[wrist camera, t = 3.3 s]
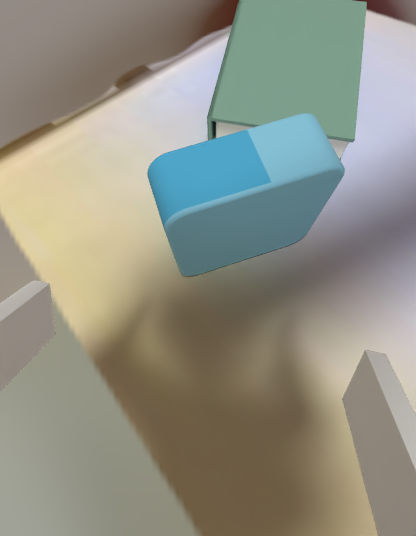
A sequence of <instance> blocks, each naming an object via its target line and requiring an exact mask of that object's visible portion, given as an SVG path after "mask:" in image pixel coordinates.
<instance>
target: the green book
mask: <svg viewBox="0 0 416 536" xmlns="http://www.w3.org/2000/svg"><path fill="white" fill-rule="evenodd" d="M366 5H367V3H366V2H361V1H352V0H239V3H238V7H237V10H236V14H235V18H234V21H233V25H232V28H231V32H230V36H229V39H228V43H227V47H226V50H225V54H224V58H223V61H222V65H221V69H220V72H219V76H218V80H217V83H216V87H215V91H214V94H213V98H212V101H211V105H210V109H209V112H208V116H207V125H208V141H209V140H212V139H215V138H219V137H222V136H226V135H229V134H233V133H236V132H239V131H243V130H246V129H250V128H253V127H257V126H260V125H264V124H267V123H270V122H274V121H277V120H281V119H284V118H288V117H291V116H294V115H298V114H303V113H308V114H312V115H314V116H315V117H316V118H317V120H318V122H319V124H320V125H321V127H322V129H323V131H324V133H325V134H326V136H327V138H328V140H329V141H330V143H331V145H332V147H333V149H334V150H335V152H336V154H337V156H338V157H339V159H340V160H341V155H342V154H343V152H344V150H345V148H346V147H347V145H348V143H349V142H353V141H354V140H355V129H356V118H357V107H358V95H359V84H360V73H361V61H362V50H363V39H364V27H365V16H366Z"/></svg>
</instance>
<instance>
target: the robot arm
mask: <svg viewBox="0 0 416 536" xmlns="http://www.w3.org/2000/svg"><path fill="white" fill-rule="evenodd" d="M55 334H56V332H55V323H54V315H53V307H52V298H51V290H50V284H49V283H44V282H39V281H35V280H33V281H31V282H30V283H28V284H27V285H26V286H24V287H23V288H21V289H20V290H18V291H17V292H15V293H14V294H13V295H11V296H10V297H8V298H7V299H5V300H4V301H3V302H1V303H0V391H1V390H2V389H3V388H4V387H5V386H6V385H7V384H8V383H9V382H10V381H11V380H12V379H13V378H14V377H15V376H16V375H17V374H18V373H19V372H20V371H21V370H22V369H23V368H24V367H25V366H26V365H27V364H28V363H29V362H30V360H31V359H32V358H33V357H34V356H35V355H36V354H37V353H38V352H39V351H40V350H41V349H42V348H43V347H44V346H45V345H46V344H47V343H48V342H49V341H50V340H51V339H52V338H53V337H54V336H55ZM342 400H343V404H344V408H345V412H346V415H347V419H348V423H349V427H350V430H351V434H352V438H353V442H354V446H355V449H356V453H357V457H358V461H359V465H360V468H361V472H362V476H363V480H364V483H365V487H366V491H367V495H368V499H369V502H370V506H371V510H372V514H373V517H374V521H375V525H376V529H377V533H378V536H416V414H415V412H414V410H413V408H412V406H411V404H410V402H409V400H408V398H407V396H406V394H405V392H404V390H403V388H402V386H401V384H400V382H399V380H398V378H397V376H396V374H395V372H394V370H393V368H392V366H391V364H390V362H389V360H388V358H387V356H386V354H383V353H378V352H373V351H369V350H365V351H364V354H363V356H362V358H361V360H360V362H359V364H358V366H357V369H356V371H355V373H354V375H353V377H352V379H351V381H350V383H349V386H348V388H347V390H346V392H345V394H344V396H343V398H342Z"/></svg>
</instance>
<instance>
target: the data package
mask: <svg viewBox="0 0 416 536" xmlns="http://www.w3.org/2000/svg"><path fill="white" fill-rule="evenodd" d="M344 172H345V169H344V166H343V165H342V163H341V161H340V159H339V157H338V156H337V154H336V152H335V150H334V149H333V147H332V145H331V143H330V141H329V140H328V138H327V136H326V134H325V133H324V131H323V129H322V127H321V125H320V124H319V122H318V120H317V118H316V117H315V116H314V115H312V114H308V113H303V114H298V115H294V116H291V117H288V118H284V119H281V120H277V121H274V122H270V123H267V124H264V125H260V126H257V127H253V128H250V129H246V130H243V131H239V132H236V133H233V134H229V135H226V136H222V137H219V138H215V139H212V140H209V141H205V142H202V143H198V144H195V145H191V146H188V147H185V148H181V149H178V150H174V151H171V152H168V153H165V154H163V155H161V156H159V157H158V158H156V159H155V160H154V161H153V162H152V163H151V165H150V166H149V169H148V179H149V182H150V185H151V188H152V192H153V195H154V198H155V201H156V204H157V208H158V211H159V214H160V217H161V220H162V224H163V227H164V230H165V233H166V235H167V238H168V241H169V243H170V246H171V248H172V251H173V254H174V256H175V259H176V262H177V264H178V267H179V270H180V272H181V274H182V275H184V276H194V275H199V274H202V273H205V272H208V271H211V270H214V269H217V268H220V267H224V266H227V265H230V264H233V263H236V262H239V261H242V260H245V259H248V258H251V257H254V256H258V255H261V254H264V253H267V252H270V251H273V250H276V249H279V248H282V247H285V246H288V245H291V244H293V243H295V242H297V241H299V240H300V239H302V238H303V237H304V236H305V235H306V234H307V232H308V231H309V229H310V228H311V226H312V224H313V223H314V221H315V220H316V218H317V217H318V215H319V213H320V212H321V210H322V209H323V207H324V206H325V204H326V202H327V201H328V199H329V198H330V196H331V195H332V193H333V191H334V190H335V188H336V187H337V185H338V184H339V182H340V181H341V179H342V177H343V175H344Z"/></svg>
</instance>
